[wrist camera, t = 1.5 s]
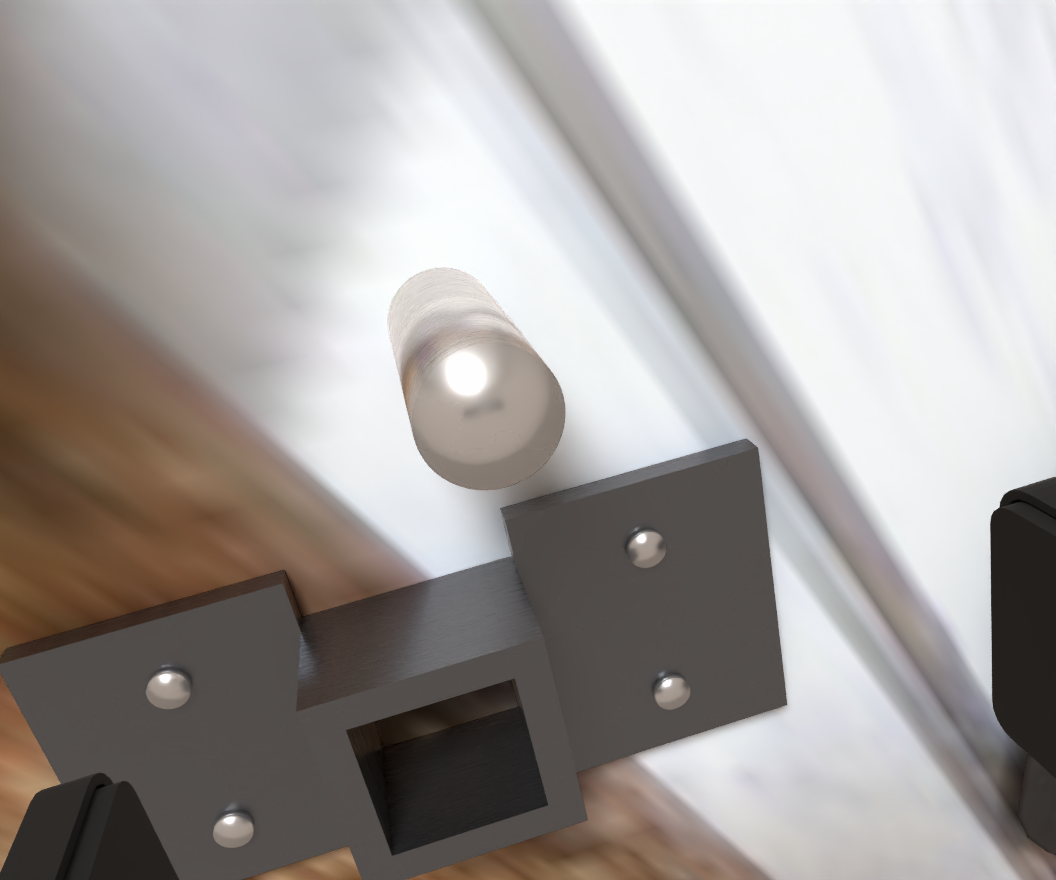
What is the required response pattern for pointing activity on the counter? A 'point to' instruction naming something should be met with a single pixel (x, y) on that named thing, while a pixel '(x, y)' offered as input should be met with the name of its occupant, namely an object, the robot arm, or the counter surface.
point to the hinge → (426, 682)
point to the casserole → (1038, 805)
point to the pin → (472, 383)
